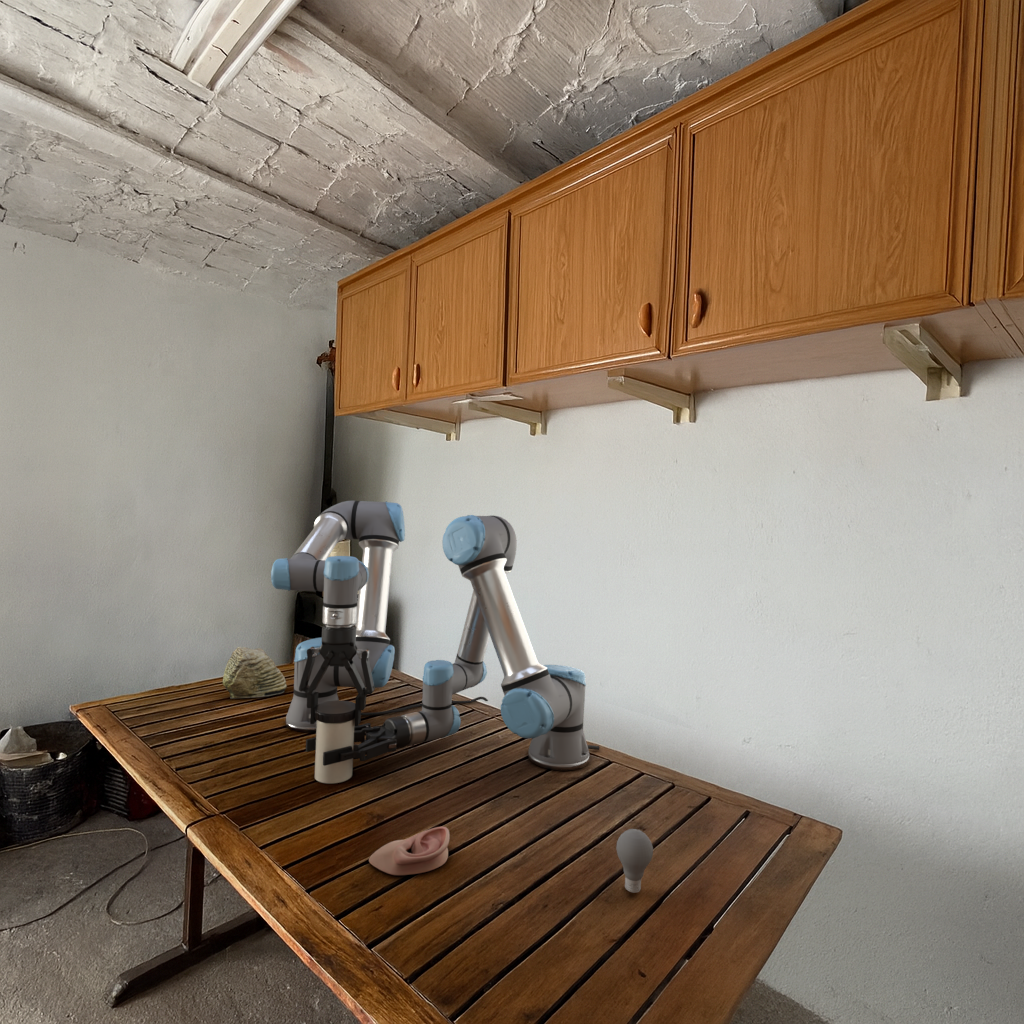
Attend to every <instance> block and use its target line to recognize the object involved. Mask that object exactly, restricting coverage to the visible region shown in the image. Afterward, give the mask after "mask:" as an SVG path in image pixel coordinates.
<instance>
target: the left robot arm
mask: <svg viewBox="0 0 1024 1024" xmlns="http://www.w3.org/2000/svg"><path fill="white" fill-rule="evenodd" d="M313 523H314V524H313V529H312V530H311V531H310V533H309V534H308V535H307V536H306V538H305V539H304V541H302V543H301V544H300V546H299V547H298V548H297V549H296V551H295V552H294V553H293V555H292V556H291V557H290V558H288V557H285V558H277V559H276V560H274V562H273V564H272V566H271V571H270V581H271V584H272V587H273V588H274V589H276V590H282V591H288V592H289V591H290V592H291V591H298V592H299V591H302V592H303V591H305V592H323V597H322V598H323V599H322V601H323V602H322V603H323V604H322V624H323V626H322V627H321V637H315V638H311V639H307V640H304V641H302V642H300V643H298V644H297V645H296V648H295V655H294V660H293V662H294V672H293V673H294V674H293V695H292V696H293V697H292V699H291V702H290V704H289V708H288V711H287V713H286V715H285V726H286V728H287V729H289V730H291V731H294V732H295V731H296V732H301V733H316V724H317V720H316V719H315V717H314V710H315V707H316V706H317V705H318V704H320V703H323V702H327V701H337V700H340V699H339V695H338V687H339V688H355V690H356V692H357V695H356V696H355V702H354V703H355V725H354V726H358V725H361V721H362V720H361V719H362V716H364V717H365V716H367V717H368V716H381V715H389V714H395V713H399V712H403V711H406V710H409V709H414V708H418V707H419V708H420V707H422V702H421V703H416V704H411V705H408V706H407V705H406V706H404V707H399V708H396V709H390V710H384V711H375V712H373V711H372V712H362V711H364V710H365V709H366V706H367V696H368V695H372V694H373V693H374V691H375V688H377V689H378V688H383V687H385V686H386V685H387V684H388V682H389V680H390V677H391V675H392V670H393V666H394V661H395V652H396V650H395V649H396V648H395V646H394V645H393V644H390V643H391V638H390V637H389V636H388V635H387V634H386V629H387V627H386V626H387V620H388V619H387V617H388V609H389V608H388V607H389V606H388V605H389V596H390V585H391V575H392V566H393V565H392V564H393V555H394V554H393V553H394V552H395V551H396V550H397V549H399V545H400V544H399V543H402V542H404V541H405V539H406V538H405V537H406V533H405V532H406V527H405V517H404V511H403V508H402V505H401V504H400V503H398V502H391V501H374V500H373V501H371V500H370V501H369V500H346V501H341V502H338V503H336V504H333V505H332V506H329V507H328V508H326V509H325V510H323V511H322V512H321V513H320V514H319V515H318V516H317V518H316V519H315V521H314V522H313ZM343 540H357V541H358V546H359V548H361V549H362V559H361V561H360V560H359V559H358V558H357V557H355V556H350V555H334V556H332V555H331V553H332V551H333V550H334V549H335V547H336V545H338V544H339V543H341V542H342V541H343ZM330 555H331V556H330ZM470 700H471V701H470ZM479 700H483V701H484V702H488V701H489V699H487V698H486V697H484V696H478V697H475V698H472V699H469V700H452V705H455V704H456V705H458V704H459V705H460V704H462V705H463V704H472V703H475V702H476V701H479Z"/></svg>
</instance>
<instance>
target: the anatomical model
mask: <svg viewBox="0 0 1024 1024" xmlns="http://www.w3.org/2000/svg"><path fill="white" fill-rule="evenodd" d="M450 835H451V834H450V830H449V828H447V826H435V827H433V828H428V829H427V830H424V831H421V832H418V833H417V834H415V835H411V836H410V837H408V838H405V839H397V840H393V841H390V842H388V843H386V844H384V845H382V846H381V847H379V848H378V849H376V850H375V851H374V852H373V853H371V855H370V856H369V858H368V862H369V864H370V865H372V866H373V867H374V868H376V869H378V870H379V871H381V872H383V873H386V874H388V875H391V876H408V875H417V874H422V873H426V872H430V871H433V870H435V869H438V868H439V867H442V866H443V865H444V864H446V862H447V861H448V858H449V848H448V847H449V843H450V837H451V836H450Z"/></svg>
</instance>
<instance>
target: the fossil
mask: <svg viewBox="0 0 1024 1024" xmlns="http://www.w3.org/2000/svg"><path fill="white" fill-rule="evenodd" d="M222 676H223V677H222V685H223V687H224V688H225V690H226V691H228V693H229V698H230V699H250V698H264V697H271V696H275V695H281V694H284V693H285V691H286V689H287V687H288V686H287V680H286V678H285V676H284V674H283V673H282V672H281V669H279V668H278V667H277V665H276V663H275V662H274V660H273V659H272V658H271V657H270V656H269V655H268V654H267V653H266V652H265V650H264V649H263V648H260V647H258V648H251V647H247V646H246V647H245V646H238V647H237V648H236V649H235V650H233V651H232V653H231V656H230V657H229V659H228V660H227V663H226V666H225V668H224V671H223V675H222Z"/></svg>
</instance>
